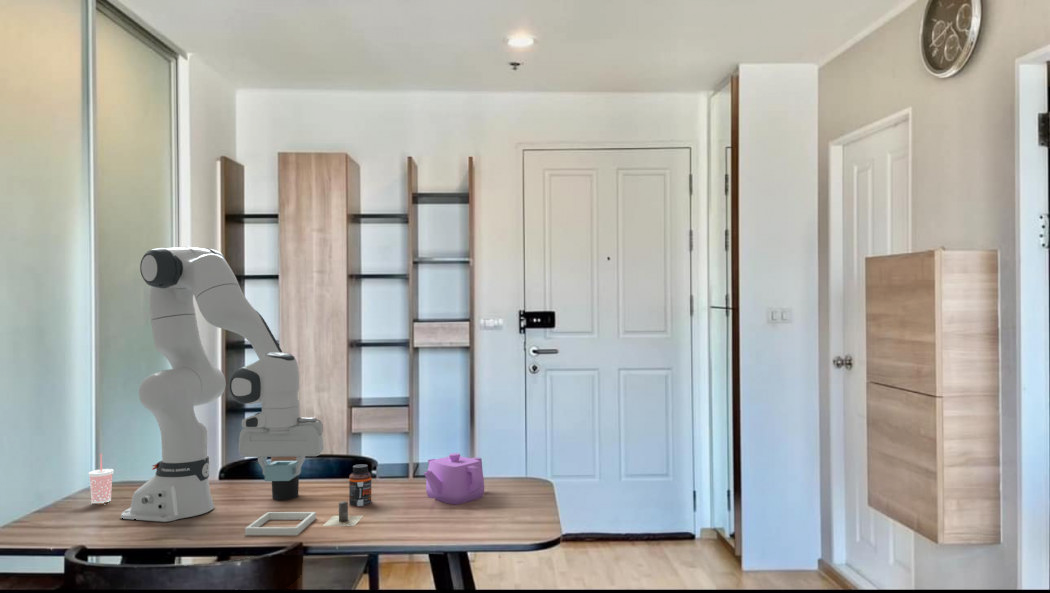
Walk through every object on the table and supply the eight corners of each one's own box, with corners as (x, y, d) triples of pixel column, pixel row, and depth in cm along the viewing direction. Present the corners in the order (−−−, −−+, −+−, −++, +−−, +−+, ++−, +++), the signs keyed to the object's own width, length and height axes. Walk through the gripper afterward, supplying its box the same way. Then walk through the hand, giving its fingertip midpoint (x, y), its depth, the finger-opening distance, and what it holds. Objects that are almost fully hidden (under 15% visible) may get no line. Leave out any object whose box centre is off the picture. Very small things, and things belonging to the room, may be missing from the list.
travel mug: (290, 491, 202) (289, 424, 202) (304, 496, 197) (303, 427, 197) (266, 497, 196) (265, 428, 196) (280, 502, 191) (280, 431, 192)
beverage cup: (87, 502, 193) (87, 453, 194) (112, 498, 197) (112, 450, 197) (89, 507, 189) (89, 457, 189) (115, 503, 192) (114, 453, 192)
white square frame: (245, 539, 161) (244, 528, 161) (267, 522, 173) (267, 512, 173) (297, 539, 160) (297, 528, 160) (315, 522, 173) (315, 512, 173)
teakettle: (484, 504, 186) (483, 459, 187) (422, 506, 186) (421, 461, 186) (485, 488, 204) (484, 447, 204) (428, 489, 203) (427, 448, 203)
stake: (322, 529, 167) (322, 507, 167) (333, 519, 175) (332, 498, 175) (354, 529, 166) (354, 507, 166) (363, 519, 174) (363, 498, 174)
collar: (264, 481, 164) (264, 466, 164) (277, 473, 171) (277, 459, 171) (289, 480, 164) (288, 466, 164) (300, 473, 171) (300, 459, 171)
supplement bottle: (365, 510, 182) (365, 468, 182) (345, 509, 183) (345, 467, 183) (375, 504, 188) (374, 463, 188) (355, 503, 189) (354, 462, 189)
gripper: (326, 415, 170) (327, 470, 169) (246, 416, 171) (247, 471, 170) (317, 419, 163) (318, 476, 163) (235, 420, 164) (235, 478, 164)
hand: (281, 474), depth 167 cm, fingers closed on collar, 6 cm apart
